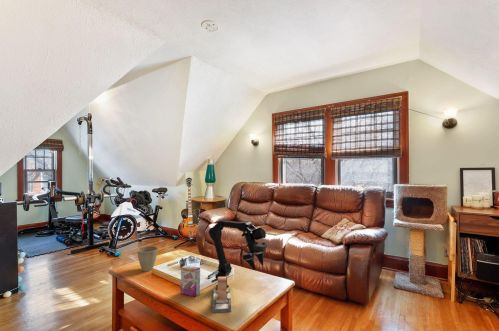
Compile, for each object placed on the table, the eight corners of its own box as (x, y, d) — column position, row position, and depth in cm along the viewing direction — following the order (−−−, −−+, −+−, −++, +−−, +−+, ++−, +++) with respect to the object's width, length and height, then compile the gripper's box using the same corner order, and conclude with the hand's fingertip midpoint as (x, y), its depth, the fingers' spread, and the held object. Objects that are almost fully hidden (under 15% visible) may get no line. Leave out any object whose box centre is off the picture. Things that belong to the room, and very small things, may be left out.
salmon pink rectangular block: (216, 296, 152) (216, 276, 152) (228, 296, 152) (228, 275, 152) (215, 303, 145) (215, 281, 145) (228, 302, 145) (228, 280, 145)
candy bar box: (180, 294, 159) (180, 267, 159) (185, 290, 163) (185, 264, 164) (196, 297, 155) (196, 269, 155) (200, 293, 160) (200, 266, 160)
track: (214, 294, 158) (214, 288, 158) (230, 293, 159) (230, 287, 159) (212, 312, 139) (212, 305, 139) (231, 311, 139) (231, 304, 140)
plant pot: (137, 275, 187) (137, 253, 187) (136, 267, 201) (137, 247, 201) (158, 271, 193) (158, 250, 194) (157, 264, 207) (157, 245, 207)
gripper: (253, 242, 146) (262, 270, 143) (268, 235, 162) (276, 260, 159) (238, 246, 152) (246, 273, 149) (254, 239, 168) (262, 263, 164)
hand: (258, 267), depth 155 cm, fingers open, 9 cm apart
